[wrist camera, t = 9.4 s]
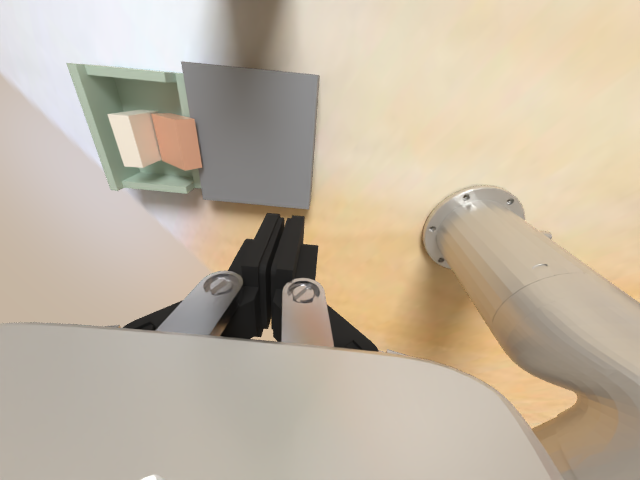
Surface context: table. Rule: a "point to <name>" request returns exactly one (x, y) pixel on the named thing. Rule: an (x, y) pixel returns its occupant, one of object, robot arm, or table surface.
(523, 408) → the table surface
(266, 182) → the slate board
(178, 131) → the terracotta tile
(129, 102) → the bin
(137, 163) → the cream tile
